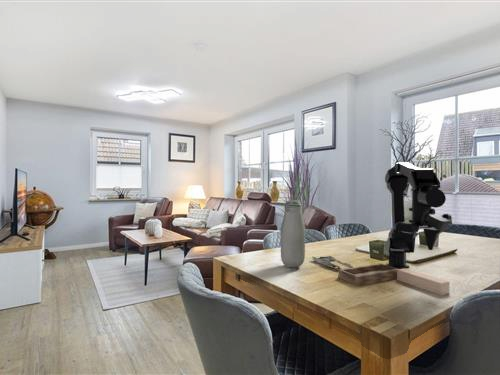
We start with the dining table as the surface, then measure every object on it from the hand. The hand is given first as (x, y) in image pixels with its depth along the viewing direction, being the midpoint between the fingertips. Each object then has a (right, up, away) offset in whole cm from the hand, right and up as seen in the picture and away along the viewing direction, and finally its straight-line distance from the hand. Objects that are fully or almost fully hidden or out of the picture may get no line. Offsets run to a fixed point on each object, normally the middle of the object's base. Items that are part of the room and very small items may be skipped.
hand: (421, 251), depth 100 cm
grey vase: (-40, -12, +24) cm, 48 cm away
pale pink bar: (0, -12, 0) cm, 12 cm away
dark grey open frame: (-22, -12, +25) cm, 36 cm away
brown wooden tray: (-14, -12, +9) cm, 20 cm away
